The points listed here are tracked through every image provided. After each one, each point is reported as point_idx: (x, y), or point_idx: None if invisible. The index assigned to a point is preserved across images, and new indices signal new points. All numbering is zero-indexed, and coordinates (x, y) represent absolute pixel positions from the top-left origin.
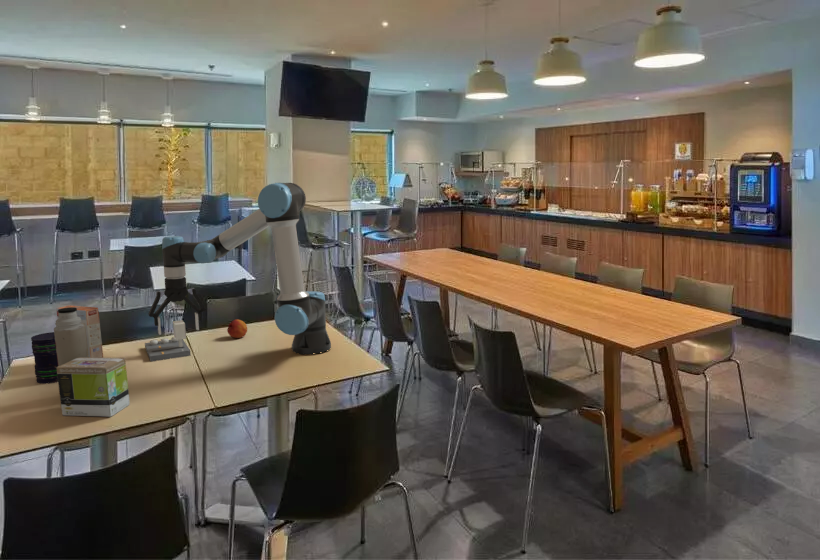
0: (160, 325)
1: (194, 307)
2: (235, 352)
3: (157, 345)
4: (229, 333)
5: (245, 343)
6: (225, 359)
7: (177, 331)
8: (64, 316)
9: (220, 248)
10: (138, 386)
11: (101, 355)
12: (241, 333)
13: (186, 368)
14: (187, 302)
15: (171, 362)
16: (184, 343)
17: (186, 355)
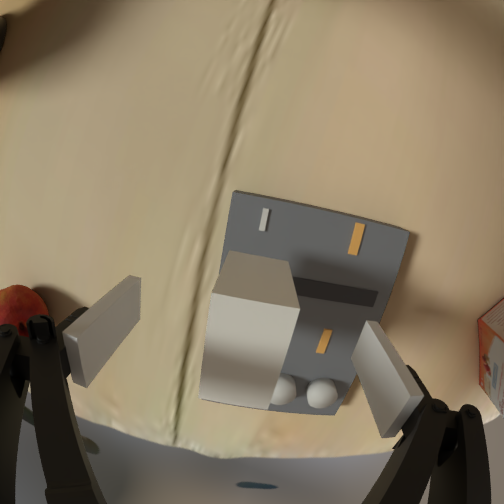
0: (387, 355)
1: (48, 385)
2: (78, 119)
3: (318, 369)
4: (42, 309)
5: (27, 218)
6: (143, 47)
7: (280, 280)
8: None
9: None
10: (466, 18)
11: (494, 327)
12: (16, 285)
13: (315, 30)
14: (82, 471)
15: (342, 147)
16: None
17: (254, 194)
